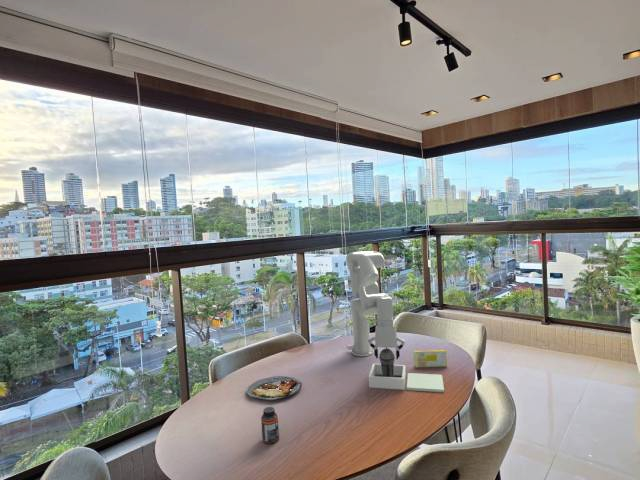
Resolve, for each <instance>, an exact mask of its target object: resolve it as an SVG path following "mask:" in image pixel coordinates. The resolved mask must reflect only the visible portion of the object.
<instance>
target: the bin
mask: <svg viewBox="0 0 640 480" xmlns="http://www.w3.org/2000/svg"><path fill="white" fill-rule="evenodd" d="M406 368H407V367H406V364H405V365H404V364H394V369H393V377H383V376H382V368H381V363H372V365H371V368H370V371H369V374H368V387H369V388H373V389H389V390H403V391H404V390H405V388H406V381H407V380H406V377H407V370H406ZM379 375H380V376H379ZM394 376H399V377H394ZM400 376H401V377H400Z"/></svg>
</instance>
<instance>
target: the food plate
mask: <svg viewBox="0 0 640 480" xmlns="http://www.w3.org/2000/svg"><path fill="white" fill-rule="evenodd" d="M279 381H280V382H281V383H279V386H277V385H278V384H273V383H274V382H279ZM285 381H286V382H285ZM287 382H289V383H287ZM269 383H271V384H269ZM265 384H267V385H265ZM260 387H261V388H260ZM278 387H279V390H282V391H279V390H268V389H276V388H278ZM264 388H268V389H264ZM301 388H302V382H301V381H300V380H299V379H298V378H297V379H296V378H295V377H290V376H283V375H282V376H281V375H275V376H270V377H269V376H268V377H264V378H260V379H259V380H255V381H254V382H252V383H251V384H250V385H249V386H248V387H247V388H246V393H247V395H248V396H250V397H251V398H256V399H262V400H268V401H276V400H280V399H285V398H288V397H291V396H292V395H294V394H296V393H297V392H298V391H300V390H301ZM290 389H292V390H291V391H290Z"/></svg>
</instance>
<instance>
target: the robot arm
mask: <svg viewBox="0 0 640 480" xmlns="http://www.w3.org/2000/svg"><path fill="white" fill-rule="evenodd" d="M345 262H346V265H347V268H348V271H349V273H350V275H349V276H350V285H351V294H352V296H353V297H355V298H359V299H354V300H353V301H351V303H350V312H351V318H352V320H351V321H352V330H353V332H352V335H353V336H352V337H353V344H347V345H346V349H347V350H351V354H352V355H353V356H356V357H368V356H372V355H373V354H374V357H375V359H378V358H379V349H378V348H386V347H387V348H389V349H390V348H391V349H392V348H393V349H396V350H395V355H396V360H399V358H400V355H401V354H400V353H401V352H400V350H401V349H403V348H404V345H405V343H406V340H404V339H402V338H400V337H399V336H398V335H397V334H398V333H397V328H396V325H395V323H394V307H393V298H392V297H391V296H390V295H389V294H388V293H386V292H381V293H380V287H379V283H378V282H377V281H379V278H380V276H379V272H378V269H379V268H380V269H382V268H384V266H385V257H384V255H383V254H382V253H381V252H379V251H376V250H364V251H352V252H349V253H348V254H347V255H346V261H345ZM373 315H376V319H374V321H373V322H374V323H375V324H376V325H375V331H374V336H373V337H371V333H370V322H369V320H368V319H367V318H366V316H373ZM373 342H374V343H373ZM398 342H399V343H400V345H399V344H398Z"/></svg>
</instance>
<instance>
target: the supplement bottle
mask: <svg viewBox="0 0 640 480" xmlns="http://www.w3.org/2000/svg"><path fill="white" fill-rule="evenodd" d="M260 419H261V422H260V423H261V435H262V436H261V438H262V442H263V443H264V444H267V445H271V444H275V443H277V442H278V441H279V439H280V430H279V416H278V414H277V412H276V410H275V407H274V406H267V407H265V408H263V413H262V415H261V417H260Z"/></svg>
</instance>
